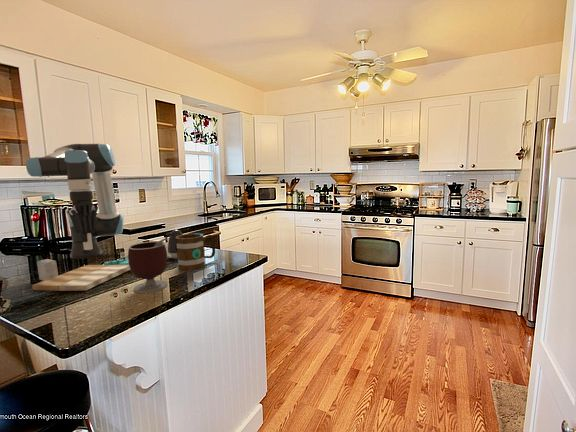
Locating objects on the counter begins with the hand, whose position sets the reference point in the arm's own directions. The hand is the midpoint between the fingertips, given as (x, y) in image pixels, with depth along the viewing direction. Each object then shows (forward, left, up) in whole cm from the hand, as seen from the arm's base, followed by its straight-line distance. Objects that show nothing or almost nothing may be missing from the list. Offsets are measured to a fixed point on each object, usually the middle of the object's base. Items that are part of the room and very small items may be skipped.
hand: (88, 249), depth 125 cm
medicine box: (-7, -28, -16) cm, 33 cm away
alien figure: (-37, -7, -16) cm, 41 cm away
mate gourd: (-1, +26, -16) cm, 31 cm away
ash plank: (-9, -4, -15) cm, 18 cm away
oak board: (-9, -17, -16) cm, 25 cm away
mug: (-31, +31, -16) cm, 47 cm away
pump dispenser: (-45, +13, -16) cm, 49 cm away
